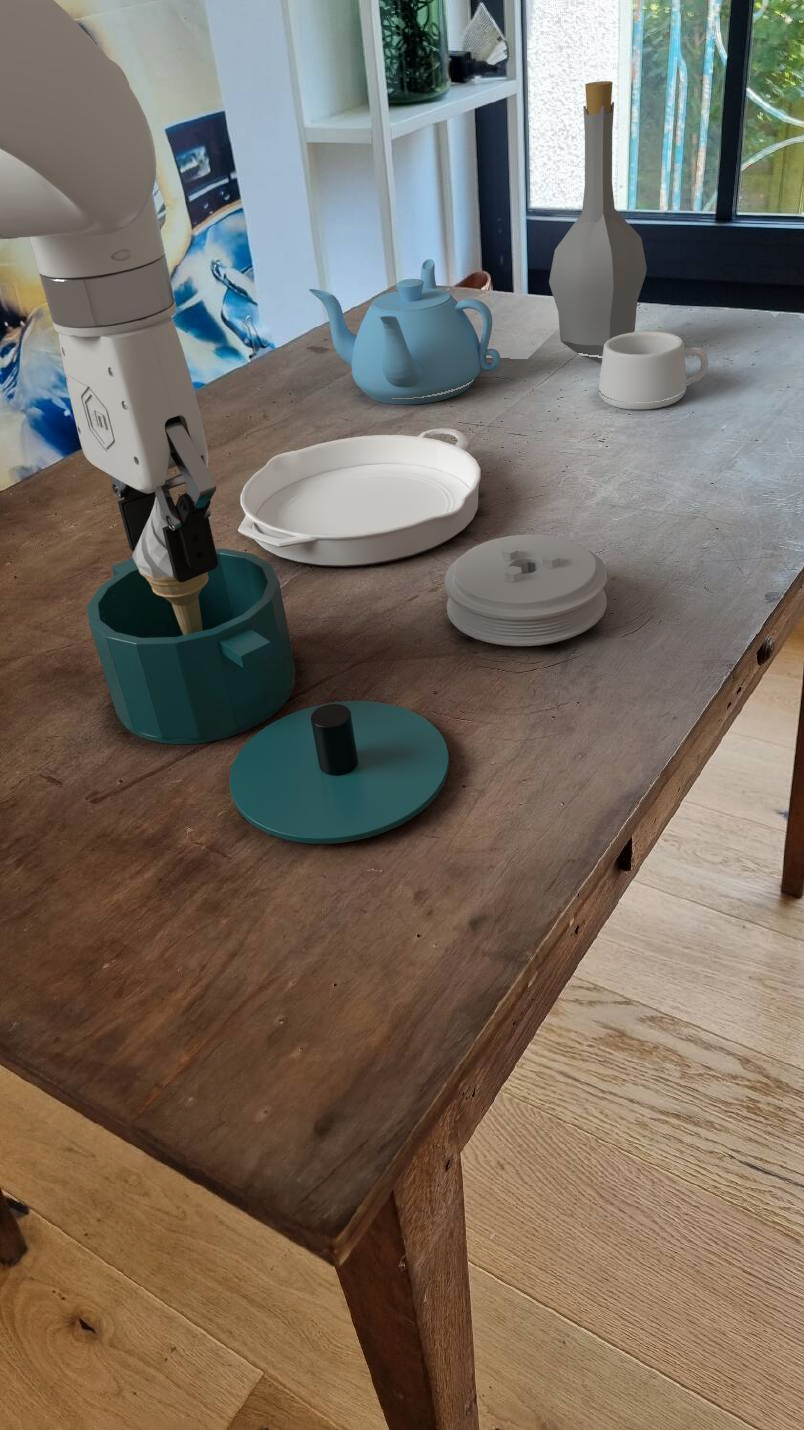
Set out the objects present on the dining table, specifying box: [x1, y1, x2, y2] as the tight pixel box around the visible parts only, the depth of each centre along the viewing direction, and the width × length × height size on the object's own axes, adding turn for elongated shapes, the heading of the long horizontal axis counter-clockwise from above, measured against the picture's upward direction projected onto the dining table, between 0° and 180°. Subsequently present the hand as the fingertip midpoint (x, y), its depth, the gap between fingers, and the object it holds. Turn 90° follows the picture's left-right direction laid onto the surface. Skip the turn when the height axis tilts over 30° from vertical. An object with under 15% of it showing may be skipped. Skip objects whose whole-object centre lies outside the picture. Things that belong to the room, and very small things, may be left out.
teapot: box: [308, 258, 502, 405], centre depth 132 cm, size 17×19×12 cm
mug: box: [598, 330, 709, 410], centre depth 123 cm, size 12×10×6 cm
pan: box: [237, 427, 482, 568], centre depth 106 cm, size 24×27×4 cm
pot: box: [86, 548, 297, 745], centre depth 82 cm, size 14×19×8 cm
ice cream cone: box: [131, 497, 209, 635], centre depth 79 cm, size 6×6×15 cm
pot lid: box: [228, 700, 450, 845], centre depth 73 cm, size 15×15×5 cm
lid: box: [444, 533, 608, 647], centre depth 87 cm, size 13×13×5 cm
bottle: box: [548, 80, 648, 363], centre depth 127 cm, size 11×11×30 cm
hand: (173, 557), depth 78 cm, fingers closed on ice cream cone, 5 cm apart
